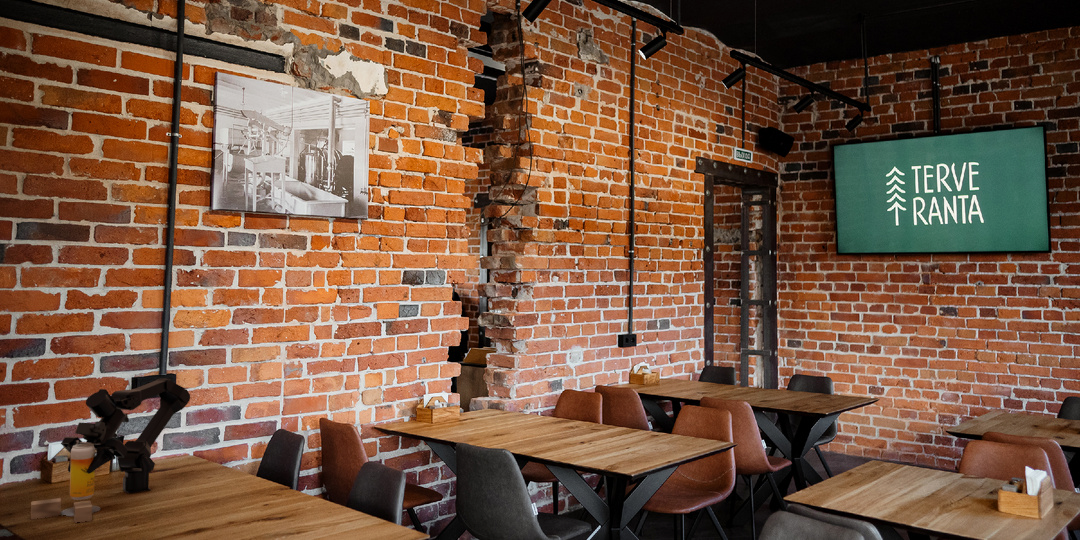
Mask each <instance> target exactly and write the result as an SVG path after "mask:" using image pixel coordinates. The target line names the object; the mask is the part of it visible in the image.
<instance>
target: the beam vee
mask: <svg viewBox="0 0 1080 540" xmlns="http://www.w3.org/2000/svg"><path fill="white" fill-rule="evenodd" d="M30 505H31V506H30V519H31V520H36V519H37V518H38V519H46V518H51V517H52V516H53V517H59V516H58V515H61V516H63V515H66V516H65V517H73V516H74V517H73V521H74V524H78V523H77V522H80V523H86V522H85V521H87V522H92V518H93V516H92V515H93V514H95V513H98V512H99V511H100V510H101V507H100V506H98V505H92V502H91V500H83V501H75V502H73V506H72V507H69V508H65V509H63V510H62V499H61V497H58V498H51V499H41V500H40V499H39V500H35V501H33V500H32V501H31V502H30ZM97 511H98V512H97ZM94 512H95V513H94ZM45 517H46V518H45Z"/></svg>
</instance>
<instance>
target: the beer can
mask: <svg viewBox="0 0 1080 540" xmlns="http://www.w3.org/2000/svg"><path fill="white" fill-rule="evenodd" d="M95 456H96V450H95V447H94V444H78V445H74V446H73V448H72V449H71V453H70V457H71V466H70V472H69V497H70V498H71V499H72V500H74V501H75V500H78V501H80V500H86V499H90V498H92V497H93V495H94V494H95V471H96V470H94V471H93V472H91V473H90V474H88V473H87V470H88V468H89V466H90V464H91V462H92V461H93V459H94V457H95Z"/></svg>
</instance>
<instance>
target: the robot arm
mask: <svg viewBox="0 0 1080 540" xmlns="http://www.w3.org/2000/svg"><path fill="white" fill-rule="evenodd" d="M155 396H157V397H159V408H158V409H157V411H156V412H155V413H154V415H153V416H152V417H151V419H150V420H149V421H148V423H147V424H146V426H145V427H144V429H143V430H142V432H141V433H140V435H139V436H138V437H137V438H136V439H135V440H127V441H126V442H125V443H123V442H122V440H121V439H117V437H118V434H117V431H118V430H119V428H120V426H121V425H122V424H123V423H129V422H130V419H129V416H128V413H126V412H124V411H133V410H136V409H137V408H138V407H139V406H141V405H142V403H143V402H144V401H146V400H148V399H150V398H153V397H155ZM190 400H191V394H190V393H189V391H188V389H186V388H185V387H183V386H181V385H180V384H177V383H175V382H174V381H173V380H172V379H170V378H157V379H155V380H154V381H151V382H148V383H146V384H143V385H141V386H138V387H136V388H133V389H121V390H115V391H113V392H112V393H111V394H110V393H109V391H108V390H107V389H106V388H100V389H99V390H98V391H96V392H94V393H92V394H91V395H89V396H88V397H87V398H86V400H85V406H86V407H87V408H88V409H89V410H90V411H91V412H92V413H93V415H94V416H95V417H97V418H99V421H96V422H94V423H91V422H78V423H77V427H76V430H75V432H74V434H76V435H78V434H79V435H81V436H82V439H84V440H86V441H82V439H80V437H78V436H65V437H64V438H63V439H62V441H61V442H60V445H62V446H63V448H65V450H66V451H67V452H69V453H70V454H71V449H72V448H73V446H74V445H78V444H94V447H95V451H96V453H95V457H94V459H93V461H92V462H91V464H90V466H89V468H88V470H87V473H88V474H90V473H91V472H93V471H94V470H95V471H96V470H97V469H98V468H100V467H102V466H103V465H105V464H107V463H108V462H111V461H112V460H115V459H116V458H117V464H118V467H119V470H120V473H121V472H122V473H123V472H124V476H123V477H122V491H124V492H125V493H127V494H135V493H136V494H137V493H142V492H147V491H151V487H149V485H150V473H151V472H152V471H154V469H155V465H156V462H154V461H153V460H152V458H151V456H152V446H153V445H154V443H156V440H157V439H158V437H159V436H160V434H161V433H162V432H163V430H164V429H165V427H166V426H167V424H168V423H169V422H170V420H171V419H172V418H173V416H174V415H175V414H177V413H178V412H180V411H182V410H184V409H185V407H186V406H187V405H188V404H189V402H190ZM70 466H71V456H70V458H69V462H68V466H67V467H68V468H67V472H68V473H70Z"/></svg>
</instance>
